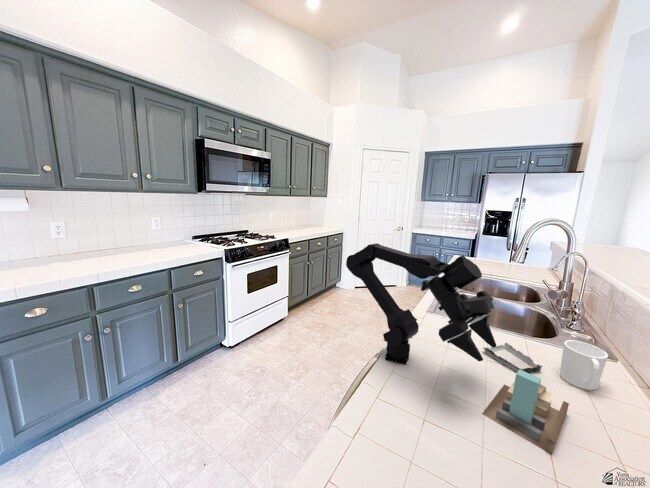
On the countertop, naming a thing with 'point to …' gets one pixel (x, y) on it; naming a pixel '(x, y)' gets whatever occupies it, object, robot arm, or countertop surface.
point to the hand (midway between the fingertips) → (488, 353)
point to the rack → (544, 418)
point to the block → (524, 396)
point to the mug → (582, 364)
